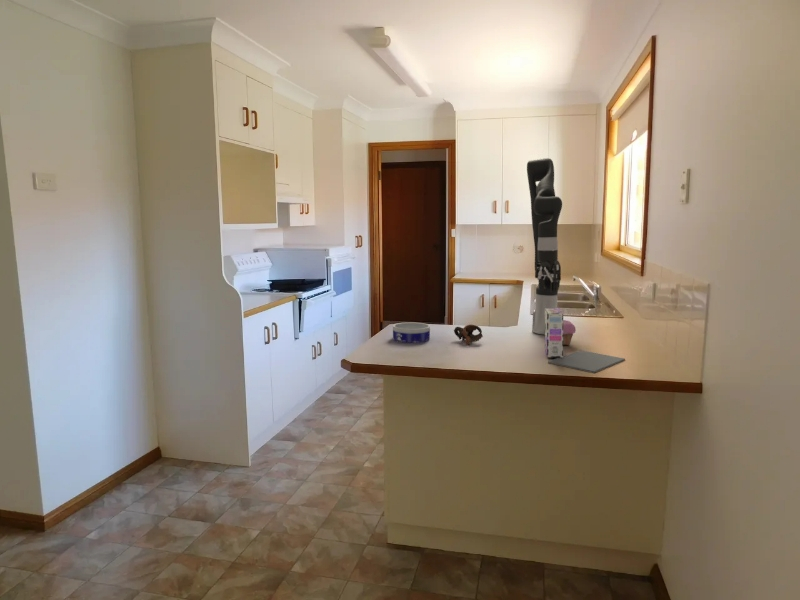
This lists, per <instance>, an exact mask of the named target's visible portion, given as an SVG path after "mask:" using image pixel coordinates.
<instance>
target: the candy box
mask: <svg viewBox="0 0 800 600" xmlns="http://www.w3.org/2000/svg"><path fill="white" fill-rule="evenodd" d="M563 320H564V312H563V311H562V310H561V308H558V307H557V308H546V309H545V335H544V338H545V339H544V342H545V344H544V347H545V348H544V349H545V351H544V352H545V354H546V357H547V358H555V359H556V358H563V356H564V345H563Z"/></svg>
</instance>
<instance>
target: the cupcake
mask: <svg viewBox="0 0 800 600" xmlns="http://www.w3.org/2000/svg"><path fill="white" fill-rule="evenodd" d="M576 331H577V330H576V326H575V324H573V323H572V322H571V321H570V320H565V319H563V346H564V345H566V346H569V345H570V344H571V341H572V339H573V336H574V334H575V333H576Z"/></svg>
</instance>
